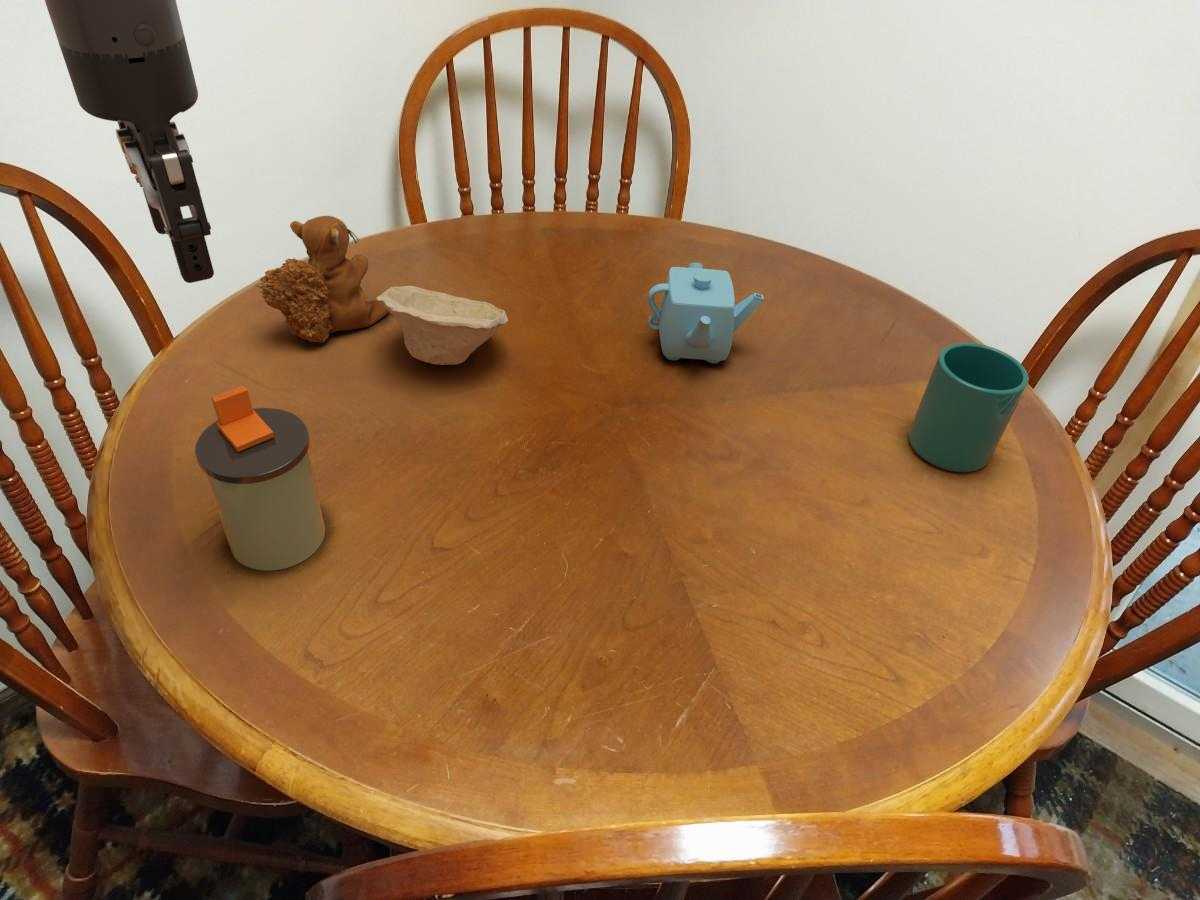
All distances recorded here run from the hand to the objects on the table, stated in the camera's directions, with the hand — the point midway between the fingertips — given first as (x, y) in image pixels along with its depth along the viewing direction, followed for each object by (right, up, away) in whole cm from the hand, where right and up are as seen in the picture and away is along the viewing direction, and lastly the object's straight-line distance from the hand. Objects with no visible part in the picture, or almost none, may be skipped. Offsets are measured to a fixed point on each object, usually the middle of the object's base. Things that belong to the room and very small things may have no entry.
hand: (184, 254), depth 66 cm
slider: (+3, -14, +5) cm, 15 cm away
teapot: (+45, -2, +41) cm, 61 cm away
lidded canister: (+3, -23, +13) cm, 27 cm away
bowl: (+14, -4, +36) cm, 39 cm away
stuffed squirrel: (-1, 0, +40) cm, 40 cm away
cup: (+72, -14, +30) cm, 79 cm away
